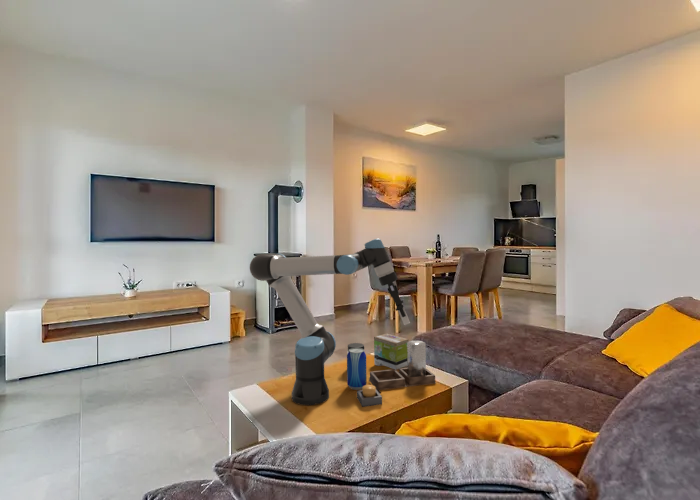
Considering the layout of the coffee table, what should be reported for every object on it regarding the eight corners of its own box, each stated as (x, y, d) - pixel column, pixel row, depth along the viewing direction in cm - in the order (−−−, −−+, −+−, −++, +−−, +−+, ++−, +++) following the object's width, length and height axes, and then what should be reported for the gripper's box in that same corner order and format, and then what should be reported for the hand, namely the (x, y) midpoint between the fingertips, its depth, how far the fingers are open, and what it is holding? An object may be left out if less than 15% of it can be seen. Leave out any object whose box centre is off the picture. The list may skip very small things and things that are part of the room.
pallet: (379, 393, 149) (379, 382, 148) (369, 380, 162) (369, 371, 162) (436, 386, 155) (436, 376, 155) (422, 374, 168) (422, 365, 168)
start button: (364, 398, 139) (364, 390, 139) (361, 393, 144) (360, 385, 144) (377, 397, 140) (377, 389, 140) (373, 391, 145) (373, 384, 145)
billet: (412, 383, 155) (411, 346, 155) (404, 376, 163) (404, 341, 163) (428, 381, 157) (428, 344, 157) (421, 374, 165) (420, 339, 165)
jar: (366, 371, 173) (366, 347, 173) (350, 373, 172) (349, 348, 171) (362, 365, 182) (361, 342, 182) (346, 367, 180) (345, 343, 180)
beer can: (364, 391, 151) (364, 353, 151) (345, 389, 153) (344, 352, 152) (367, 383, 159) (367, 347, 159) (349, 382, 161) (348, 346, 161)
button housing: (362, 407, 137) (362, 399, 137) (356, 398, 145) (356, 390, 145) (382, 404, 139) (382, 396, 139) (375, 395, 147) (375, 388, 147)
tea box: (373, 365, 182) (373, 336, 182) (386, 360, 189) (386, 332, 189) (396, 373, 171) (395, 342, 171) (409, 367, 178) (409, 338, 177)
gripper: (395, 271, 138) (417, 323, 137) (393, 269, 163) (412, 313, 162) (377, 279, 139) (399, 330, 137) (378, 276, 163) (396, 319, 162)
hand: (406, 321), depth 149 cm, fingers open, 13 cm apart
